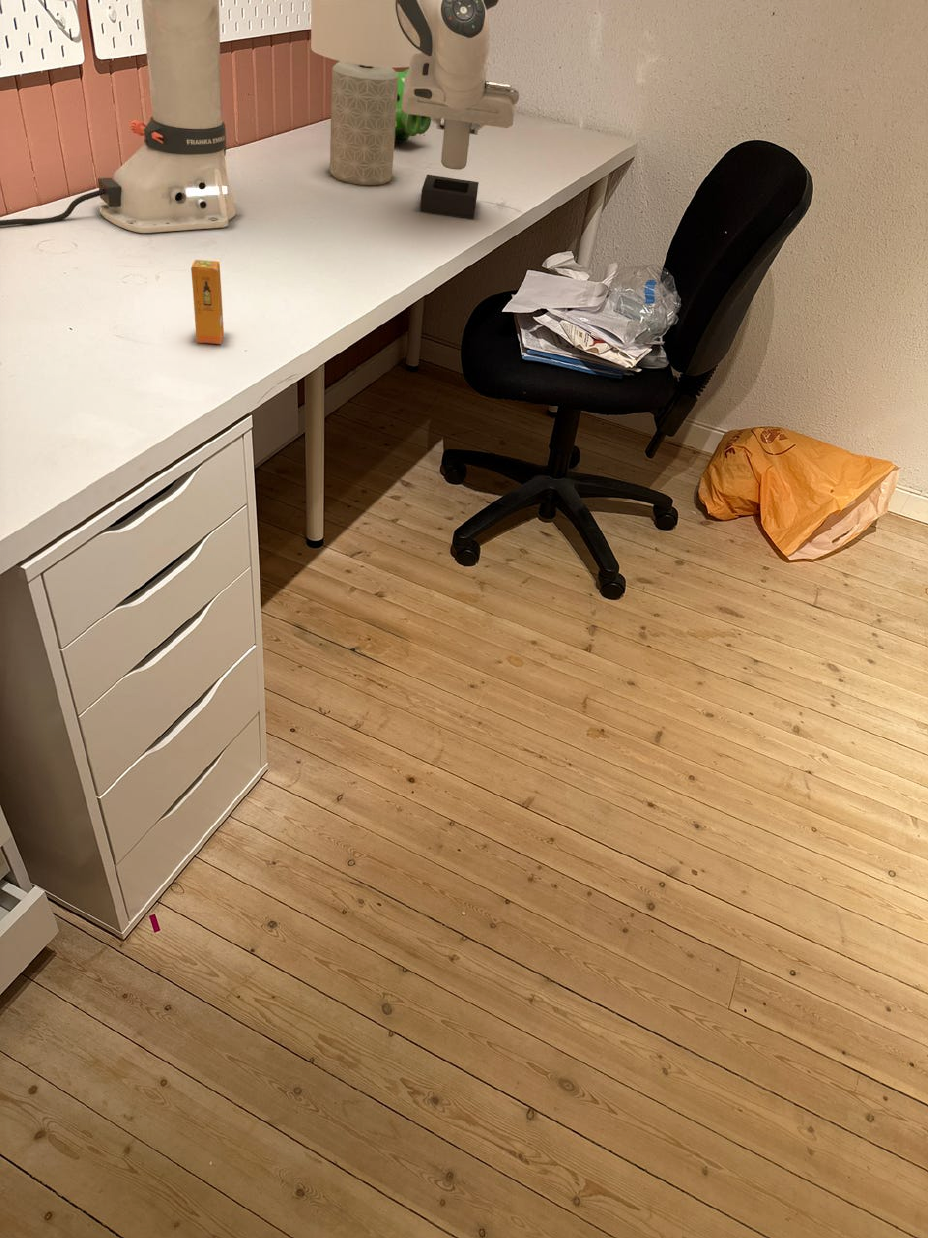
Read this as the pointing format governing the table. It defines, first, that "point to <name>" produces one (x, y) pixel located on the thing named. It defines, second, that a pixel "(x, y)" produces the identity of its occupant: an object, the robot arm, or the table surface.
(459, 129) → the beverage can
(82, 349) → the table surface
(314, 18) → the lamp
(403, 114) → the piggy bank
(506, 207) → the table surface
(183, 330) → the table surface
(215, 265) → the supplement box
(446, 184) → the box socket
